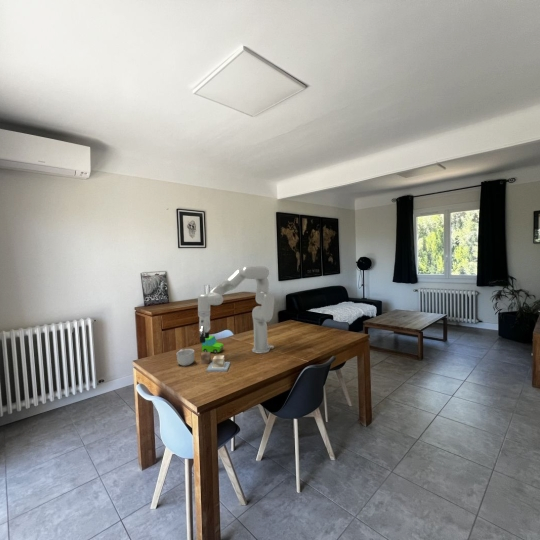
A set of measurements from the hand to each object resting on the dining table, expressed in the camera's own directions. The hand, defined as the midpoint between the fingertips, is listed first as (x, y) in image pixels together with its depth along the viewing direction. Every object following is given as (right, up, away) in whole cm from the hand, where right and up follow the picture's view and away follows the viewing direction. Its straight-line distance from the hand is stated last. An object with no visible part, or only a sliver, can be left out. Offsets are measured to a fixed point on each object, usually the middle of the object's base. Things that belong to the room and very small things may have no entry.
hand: (204, 340), depth 178 cm
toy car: (+1, -14, +22) cm, 26 cm away
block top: (+1, -14, +1) cm, 14 cm away
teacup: (-12, -15, 0) cm, 19 cm away
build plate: (+10, -14, -8) cm, 20 cm away
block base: (+10, -13, -8) cm, 19 cm away
